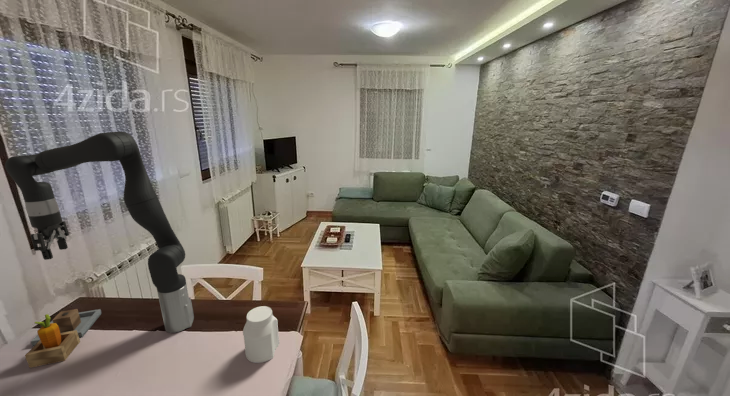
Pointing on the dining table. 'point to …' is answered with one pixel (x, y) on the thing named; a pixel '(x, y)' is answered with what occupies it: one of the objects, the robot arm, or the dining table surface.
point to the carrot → (49, 333)
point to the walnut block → (67, 320)
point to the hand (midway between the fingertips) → (56, 253)
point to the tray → (84, 326)
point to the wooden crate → (53, 350)
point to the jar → (260, 335)
